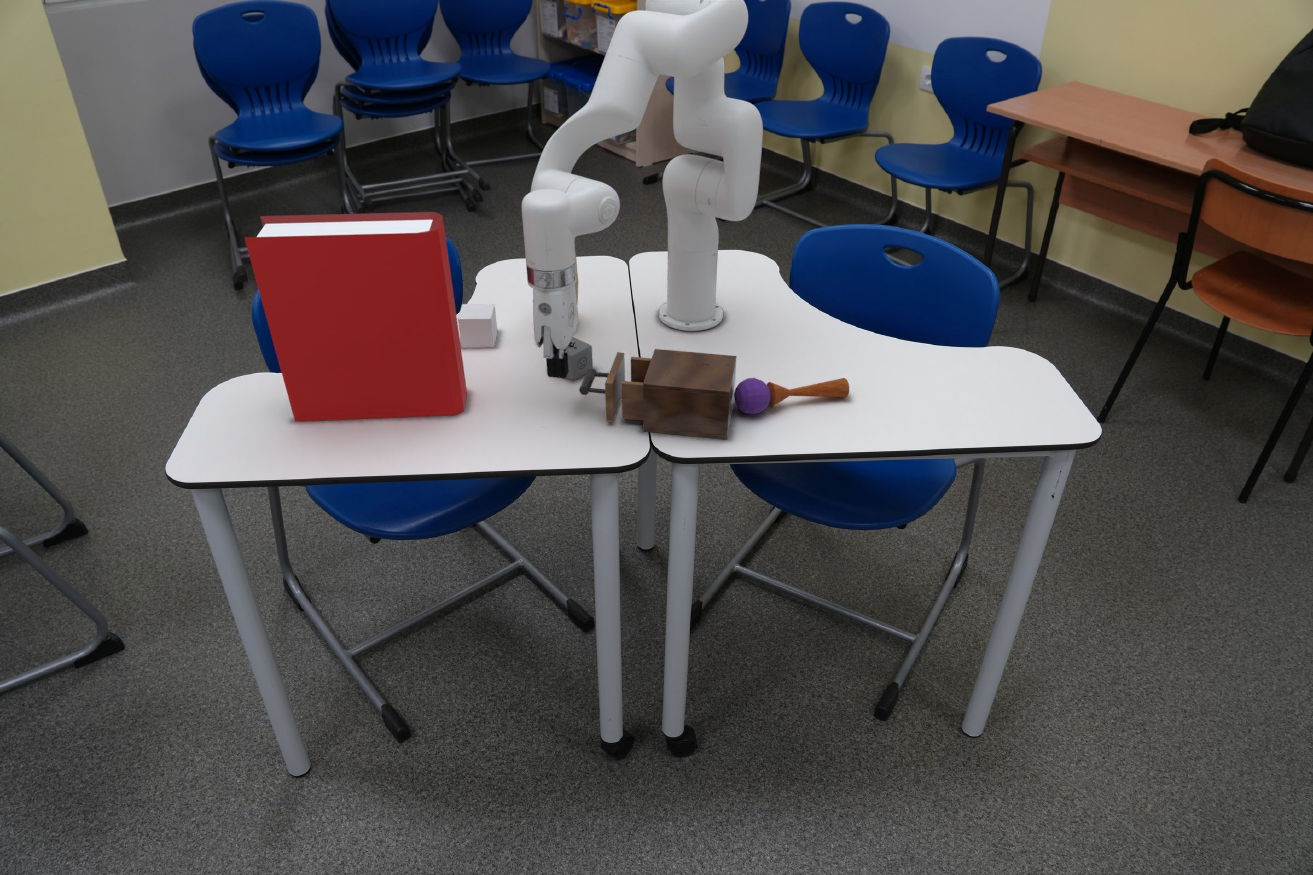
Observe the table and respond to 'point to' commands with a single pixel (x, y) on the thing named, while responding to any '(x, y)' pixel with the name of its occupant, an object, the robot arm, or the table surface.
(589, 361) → the dice cube
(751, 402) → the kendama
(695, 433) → the cabinet
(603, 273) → the table surface
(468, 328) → the white cube
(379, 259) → the book
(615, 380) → the drawer
